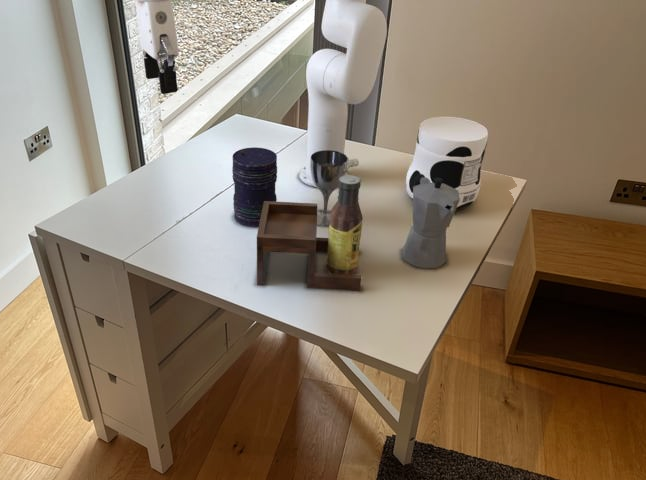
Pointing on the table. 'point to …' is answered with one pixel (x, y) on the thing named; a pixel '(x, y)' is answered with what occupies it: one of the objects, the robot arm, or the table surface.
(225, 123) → the table surface
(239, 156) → the dark blue cylinder
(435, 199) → the coffeepot
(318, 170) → the wine glass
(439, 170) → the milk container
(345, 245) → the sauce bottle
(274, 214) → the step rack
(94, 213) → the table surface
